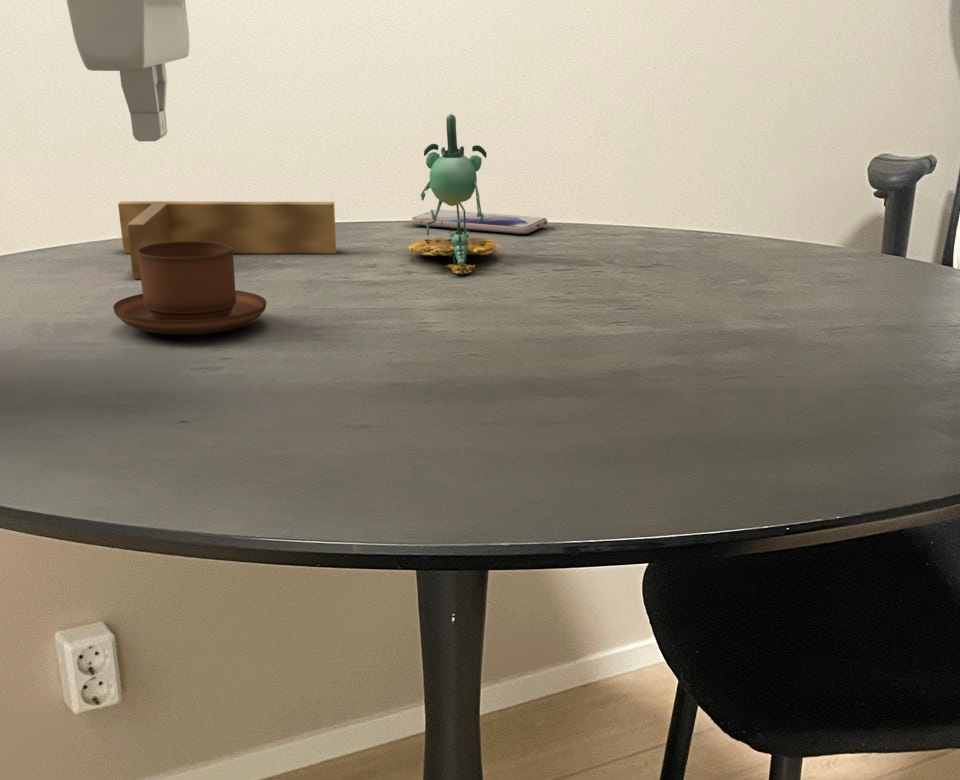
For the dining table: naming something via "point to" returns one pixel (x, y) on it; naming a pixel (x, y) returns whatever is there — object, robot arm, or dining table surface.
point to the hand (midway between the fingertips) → (151, 139)
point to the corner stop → (230, 226)
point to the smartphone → (488, 224)
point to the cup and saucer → (188, 291)
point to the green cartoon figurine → (453, 200)
